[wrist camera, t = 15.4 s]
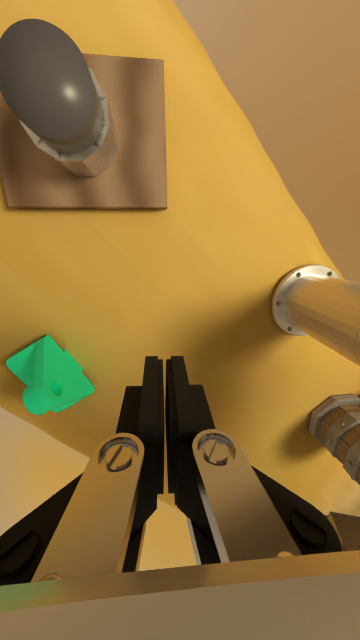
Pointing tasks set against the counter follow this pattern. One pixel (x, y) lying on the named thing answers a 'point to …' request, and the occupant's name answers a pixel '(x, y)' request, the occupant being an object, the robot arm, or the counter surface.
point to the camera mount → (49, 377)
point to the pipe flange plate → (96, 147)
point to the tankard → (339, 430)
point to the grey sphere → (49, 85)
